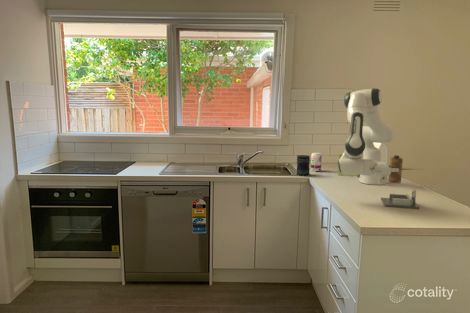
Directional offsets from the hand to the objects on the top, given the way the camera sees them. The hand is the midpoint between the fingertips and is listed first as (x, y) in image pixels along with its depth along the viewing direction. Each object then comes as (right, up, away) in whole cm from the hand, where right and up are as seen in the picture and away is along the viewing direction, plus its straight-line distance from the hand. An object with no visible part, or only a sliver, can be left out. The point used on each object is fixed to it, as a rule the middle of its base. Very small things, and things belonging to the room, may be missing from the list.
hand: (397, 168), depth 167 cm
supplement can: (-19, -6, +94) cm, 96 cm away
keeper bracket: (+2, -19, +2) cm, 19 cm away
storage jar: (-33, -8, +79) cm, 86 cm away
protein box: (+3, -8, +78) cm, 79 cm away
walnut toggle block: (-1, -7, +1) cm, 7 cm away
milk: (+33, -5, +99) cm, 105 cm away
